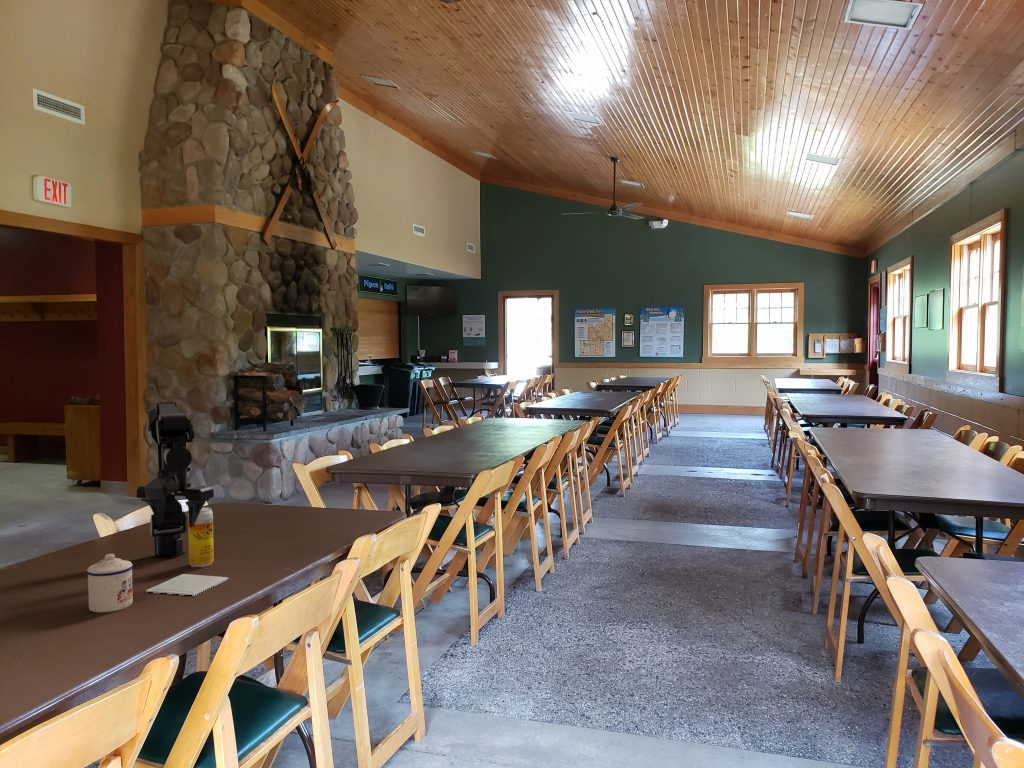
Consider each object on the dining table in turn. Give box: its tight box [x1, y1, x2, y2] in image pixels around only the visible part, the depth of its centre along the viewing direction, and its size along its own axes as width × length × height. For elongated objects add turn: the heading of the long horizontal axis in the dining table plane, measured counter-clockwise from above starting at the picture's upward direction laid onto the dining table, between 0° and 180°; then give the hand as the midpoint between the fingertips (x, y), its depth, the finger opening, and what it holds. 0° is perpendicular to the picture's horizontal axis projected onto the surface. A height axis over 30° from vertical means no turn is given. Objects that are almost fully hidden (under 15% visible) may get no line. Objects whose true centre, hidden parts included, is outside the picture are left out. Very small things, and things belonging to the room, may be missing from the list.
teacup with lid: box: [86, 553, 134, 614], centre depth 164 cm, size 12×9×12 cm
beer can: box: [187, 506, 215, 568], centre depth 194 cm, size 6×6×15 cm
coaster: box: [145, 573, 229, 597], centre depth 177 cm, size 13×13×1 cm
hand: (175, 525), depth 185 cm, fingers open, 9 cm apart
